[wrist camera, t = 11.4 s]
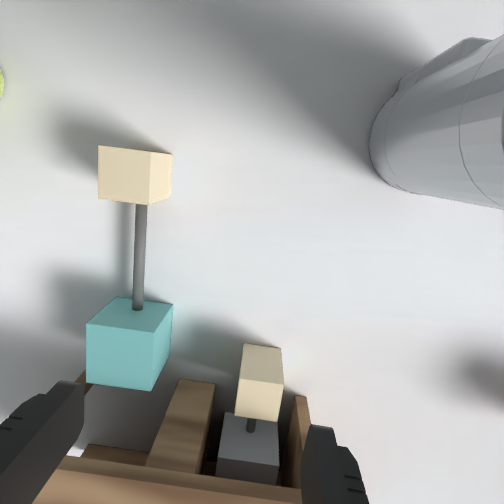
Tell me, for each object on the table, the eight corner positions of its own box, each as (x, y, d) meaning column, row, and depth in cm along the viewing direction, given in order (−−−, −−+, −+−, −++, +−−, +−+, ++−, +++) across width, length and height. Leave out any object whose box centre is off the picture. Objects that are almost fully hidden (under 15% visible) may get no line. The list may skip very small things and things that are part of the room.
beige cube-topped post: (234, 341, 35) (228, 376, 29) (290, 349, 35) (295, 386, 29) (219, 453, 39) (211, 504, 33) (269, 461, 39) (270, 512, 33)
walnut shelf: (88, 365, 37) (4, 461, 25) (306, 397, 36) (325, 507, 25) (88, 452, 40) (13, 573, 28) (288, 481, 40) (298, 615, 28)
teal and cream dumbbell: (119, 147, 30) (85, 143, 25) (183, 156, 30) (164, 153, 25) (115, 347, 36) (86, 382, 30) (169, 354, 36) (150, 391, 30)
